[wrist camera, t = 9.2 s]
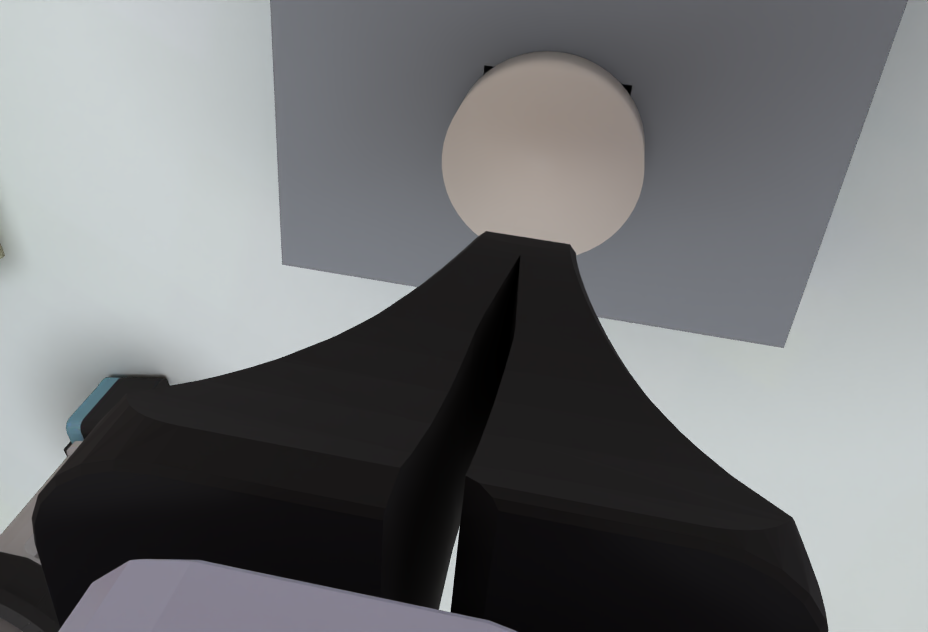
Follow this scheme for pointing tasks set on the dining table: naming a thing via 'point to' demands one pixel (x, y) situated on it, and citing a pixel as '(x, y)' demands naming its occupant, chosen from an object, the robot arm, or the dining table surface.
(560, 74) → the knob
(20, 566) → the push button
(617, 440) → the robot arm
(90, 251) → the dining table surface
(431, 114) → the knob panel
